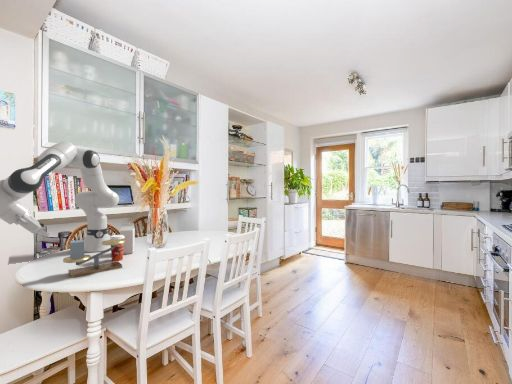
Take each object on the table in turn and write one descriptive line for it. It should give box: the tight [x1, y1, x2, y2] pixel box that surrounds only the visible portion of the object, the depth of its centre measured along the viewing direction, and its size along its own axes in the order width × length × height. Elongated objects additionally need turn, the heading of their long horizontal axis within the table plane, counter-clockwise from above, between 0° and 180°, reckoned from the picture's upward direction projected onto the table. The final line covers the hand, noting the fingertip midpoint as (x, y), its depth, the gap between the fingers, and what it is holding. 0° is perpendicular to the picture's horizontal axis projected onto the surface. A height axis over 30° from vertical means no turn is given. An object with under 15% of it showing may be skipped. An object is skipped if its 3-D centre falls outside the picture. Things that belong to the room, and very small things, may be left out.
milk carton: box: [119, 222, 136, 255], centre depth 160 cm, size 7×7×19 cm
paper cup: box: [110, 234, 125, 262], centre depth 145 cm, size 8×8×14 cm
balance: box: [62, 239, 126, 279], centre depth 127 cm, size 11×27×14 cm, turn 133°
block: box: [69, 239, 85, 260], centre depth 121 cm, size 5×5×8 cm
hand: (46, 234), depth 113 cm, fingers open, 8 cm apart
